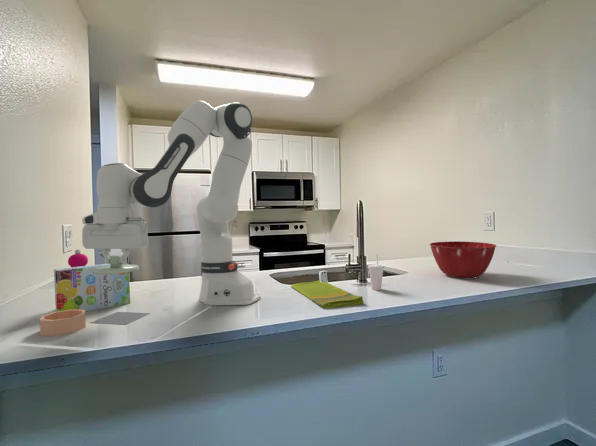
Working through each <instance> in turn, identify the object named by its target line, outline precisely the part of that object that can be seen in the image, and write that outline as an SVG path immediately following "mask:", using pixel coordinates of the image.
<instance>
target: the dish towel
mask: <svg viewBox="0 0 596 446" xmlns="http://www.w3.org/2000/svg"><path fill="white" fill-rule="evenodd" d="M290 288H292V289H293V290H295V291H296V292H298V293H299V294H301V295H303V296H304V297H305V296H306V297H305V298H307V299H309V300H310V301H311V300H312V302H313V303H314V302H315V304H316V305H317V306H319V307H321V308H322V309H333V308H332V307H334V308H342V307H350V306H358V305H364V299H363V298H364V297H363V296H362V295H358V296H357V295H355V294H353V293H350V292H349V291H346V290H345V289H342V288H340V287H337V286H335V285H333V284H331V283H330V282H328V281H325V282H323V283H321V282H320V279H319V280H313V281H310V282H309V281H307V282H306V281H305V282H298V283H293V284H291V286H290Z"/></svg>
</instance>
